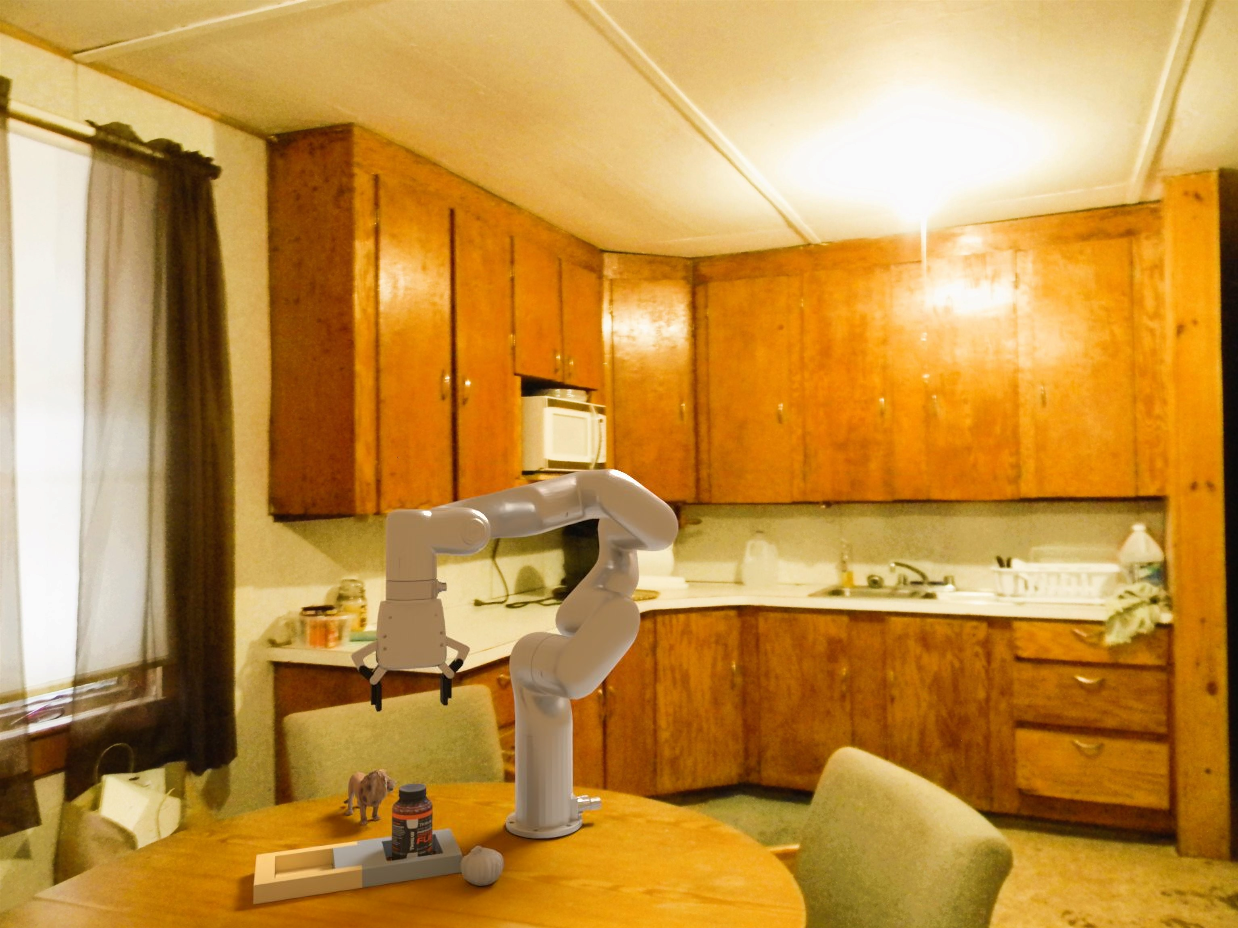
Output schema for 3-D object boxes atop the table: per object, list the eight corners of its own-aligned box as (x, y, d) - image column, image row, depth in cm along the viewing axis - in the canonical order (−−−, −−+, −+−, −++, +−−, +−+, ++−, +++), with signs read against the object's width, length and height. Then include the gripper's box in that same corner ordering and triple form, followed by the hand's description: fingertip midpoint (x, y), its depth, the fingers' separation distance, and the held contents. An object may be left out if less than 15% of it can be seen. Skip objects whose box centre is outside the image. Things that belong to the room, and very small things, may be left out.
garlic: (463, 893, 120) (463, 855, 120) (458, 877, 125) (458, 840, 126) (506, 888, 122) (506, 849, 122) (500, 872, 127) (500, 835, 127)
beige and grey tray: (449, 844, 137) (449, 828, 138) (462, 872, 127) (462, 854, 127) (256, 872, 128) (256, 854, 128) (253, 904, 117) (253, 885, 117)
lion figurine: (400, 823, 147) (400, 768, 147) (371, 831, 143) (371, 775, 144) (357, 802, 158) (357, 751, 158) (329, 809, 154) (329, 757, 154)
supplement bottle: (422, 874, 126) (422, 794, 127) (384, 871, 128) (384, 792, 128) (438, 857, 132) (439, 781, 133) (402, 855, 134) (402, 779, 134)
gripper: (464, 586, 138) (464, 696, 138) (349, 591, 132) (349, 706, 132) (473, 591, 131) (474, 706, 131) (352, 596, 125) (352, 718, 125)
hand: (411, 706), depth 131 cm, fingers open, 9 cm apart
